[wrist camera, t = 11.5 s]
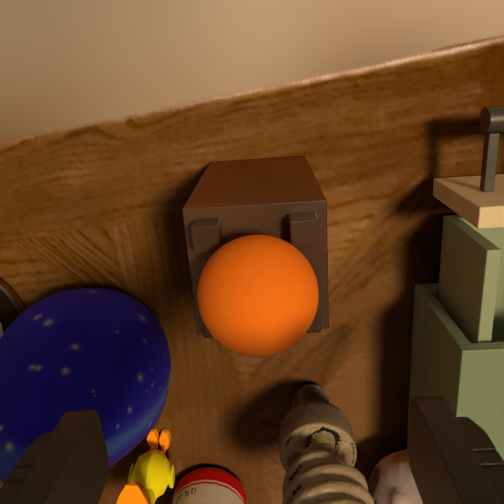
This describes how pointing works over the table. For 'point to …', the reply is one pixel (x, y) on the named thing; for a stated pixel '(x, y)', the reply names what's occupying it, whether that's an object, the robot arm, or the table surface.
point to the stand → (258, 217)
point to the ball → (257, 295)
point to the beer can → (209, 488)
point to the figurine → (394, 481)
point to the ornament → (82, 370)
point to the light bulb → (319, 453)
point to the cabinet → (456, 366)
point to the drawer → (475, 242)
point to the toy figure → (149, 472)
